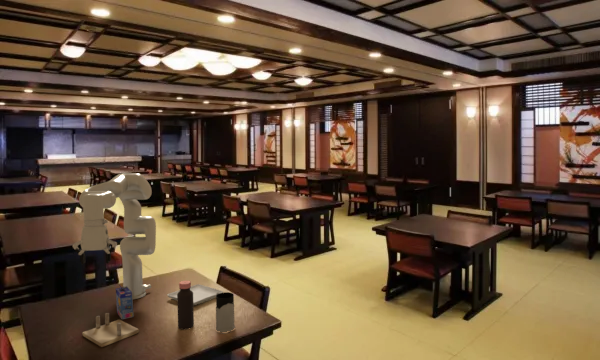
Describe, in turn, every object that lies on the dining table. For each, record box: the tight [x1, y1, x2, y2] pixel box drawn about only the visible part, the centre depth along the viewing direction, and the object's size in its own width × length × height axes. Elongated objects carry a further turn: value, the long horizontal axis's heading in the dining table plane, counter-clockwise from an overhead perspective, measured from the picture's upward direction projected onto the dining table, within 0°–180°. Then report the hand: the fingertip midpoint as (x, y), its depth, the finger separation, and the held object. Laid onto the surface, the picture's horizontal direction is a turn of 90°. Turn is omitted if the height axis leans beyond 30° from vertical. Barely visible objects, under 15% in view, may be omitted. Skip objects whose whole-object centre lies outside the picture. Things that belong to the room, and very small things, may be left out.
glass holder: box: [215, 291, 236, 332], centre depth 179 cm, size 9×14×15 cm, turn 32°
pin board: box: [82, 312, 140, 348], centre depth 172 cm, size 16×16×6 cm
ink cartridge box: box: [115, 284, 135, 320], centre depth 191 cm, size 10×6×14 cm, turn 37°
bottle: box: [176, 280, 195, 330], centre depth 178 cm, size 7×7×20 cm
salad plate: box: [166, 283, 224, 306], centre depth 213 cm, size 21×21×3 cm
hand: (95, 263), depth 171 cm, fingers open, 9 cm apart
